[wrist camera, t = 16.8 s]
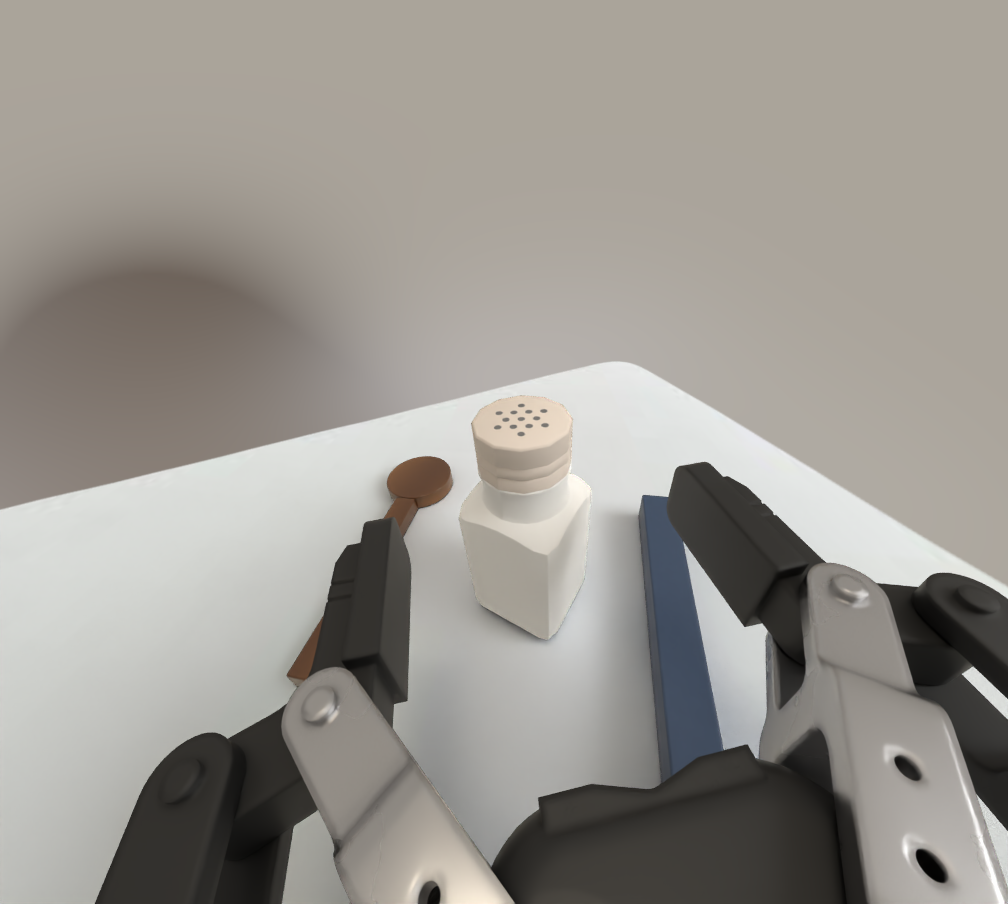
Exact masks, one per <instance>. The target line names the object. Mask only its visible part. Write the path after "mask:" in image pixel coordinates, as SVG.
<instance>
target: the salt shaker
mask: <svg viewBox="0 0 1008 904" xmlns="http://www.w3.org/2000/svg"><path fill="white" fill-rule="evenodd" d="M572 424H573V419H572V417H571V416H570V414H569V413H568V411H567V410H566V409H565V407H564V406H563V405H562V404H559V403H557V402H555V401H552V400H550V399H547V398H545V397H534V396H522V395H521V396H516V397H510V398H505V399H499V400H497V401H495V402H493V403H491V404H489V405H487V406H485V407H484V408H482V409H480V411H479V412H478V414H477V415H476V417H475V418H474V420H473V421H472V423H471V425H472V432H473V438H474V444H475V451H476V457H477V463H478V474H479V476H480V478H481V481H480V482H479V483H478V484H477V486H476V487H475V488H474V489H473V490H472V491H471V493H470V494H469V496H468V497H467V498H466V500H465V501H464V502H463V504H462V506H461V511H460V515H459V522H460V527H461V531H462V536H463V541H464V545H465V550H466V554H467V559H468V563H469V568H470V572H471V577H472V582H473V586H474V591H475V595H476V598H477V600H478V601H479V603H480V604H481V605H482V606H484V607H485V608H487V609H489V610H490V611H492V612H494V613H496V614H498V615H499V616H501V617H503V618H505V619H506V620H508V621H510V622H512V623H514V624H515V625H517V626H519V627H521V628H522V629H524V630H526V631H528V632H530V633H531V634H533V635H535V636H537V637H538V638H541V639H546V640H549V639H550V638H551V637H552V636H553V635H554V634H555V633H556V632H558V630H559V628H560V626H561V624H562V622H563V620H564V618H565V616H566V614H567V612H568V610H569V609H570V607H571V605H572V603H573V601H574V599H575V597H576V595H577V593H578V591H579V589H580V587H581V585H582V583H583V581H584V579H585V568H586V556H587V544H588V532H589V520H590V508H591V488H590V487H589V486H588V484H587V483H586V482H585V481H584V480H583V479H581V478H579V477H577V476H575V475H573V474H571V473H570V471H571V452H572V450H571V448H572V439H571V438H572Z"/></svg>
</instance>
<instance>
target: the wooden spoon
mask: <svg viewBox="0 0 1008 904" xmlns="http://www.w3.org/2000/svg"><path fill="white" fill-rule="evenodd" d="M452 483H453V479H452V475H451V470H450V467H449V465H448V464H447V463H446V462H445V461H444V460H442V459H440V458H437V457H431V456H424V457H417V458H413V459H410V460H407V461H405V462H403V463H401V464H400V465H398V466H397V467H396V468H395V469H394V470H393V471H392V472H391V473H390V475H389V477H388V480H387V487H388V490H389V493H390V495H391V498H392V499H393V501H394V503H393V504H392V506H391V507H390V509H389V511H388V512H387V514H386V515H385V517H384V519H385V518H390V517H395V519H396V521H397V523H398V526H399V529H400V531H401V534H402V537H403V536H404V534H405V532H406V531H407V529H408V527H409V525H410V523H411V521H412V519H413V518H414V516H415V514H416V512H417V510H418V508H422V507H426V506H429V505H432V504H434V503H436V502H438V501H440V500H441V499H442V498H444V497H445V496H446V495H447V494H448V492H449V491H450V489H451V487H452ZM323 616H324V615H323ZM322 620H323V617H322V619H321V620H320V622H319V623H318V625H317V627H316V628H315V630H314V632H313V633H312V635H311V636H310V638H309V640H308V641H307V643H306V644H305V646H304V648H303V649H302V651H301V652H300V654H299V656H298V657H297V659H296V661H295V662H294V664H293V665H292V667H291V669H290V670H289V672H288V673H287V677H288V678H289V679H290V680H291V681H292V682H293V683H294V684H295V685H296V686H300V685H301V684H302V683H303V682H304V681H305V680H306V679H307V677H308V675H309V673H310V671H311V667H312V664H313V660H314V656H315V651H316V647H317V642H318V638H319V633H320V629H321V625H322Z"/></svg>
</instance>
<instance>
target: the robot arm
mask: <svg viewBox="0 0 1008 904" xmlns="http://www.w3.org/2000/svg"><path fill="white" fill-rule="evenodd" d="M667 514H668V518H669V520H670V523H671V524H672V526H673V527H674V529H675V530H676V532H677V533H678V534H679V536H680V537H681V539H682V540H683V541H684V543H685V544H686V546H687V547H688V548H689V550H690V551H691V553H692V554H693V555H694V557H695V558H696V560H697V561H698V562H699V564H700V565H701V567H702V568H703V569H704V571H705V572H706V574H707V575H708V576H709V578H710V579H711V581H712V582H713V583H714V585H715V586H716V588H717V589H718V590H719V592H720V593H721V595H722V596H723V597H724V599H725V600H726V602H727V603H728V604H729V606H730V607H731V609H732V610H733V611H734V613H735V614H736V616H737V617H738V619H739V620H740V621H741V623H742V624H743V626H744V627H747V626H752V625H756V624H761V623H763V625H764V626H765V627H766V629H767V630H768V633H767V635H766V640H765V642H766V691H767V714H766V720H765V724H764V727H763V730H762V734H761V738H760V746H759V759H756V758H755V757H754V755H753V753H752V751H751V750H750V748H749V746H748V744H747V745H743V746H739V747H735V748H731V749H727V750H723V751H719V752H716V753H712V754H708V755H704V756H700V757H697V758H696V759H695V760H693V761H692V762H690V763H689V764H688V765H686V766H685V767H684V768H682V769H681V770H679V771H678V772H677V773H675V774H674V775H672V776H671V777H670V778H668V779H667V780H666V781H664V782H663V783H661V784H660V785H659V786H657V787H655V788H653V789H639V788H628V787H617V786H607V785H596V784H590V785H586V786H582V787H578V788H574V789H570V790H566V791H562V792H559V793H555V794H551V795H547V796H543V797H539V798H538V801H539V810H537V811H536V812H535V813H533V814H532V815H530V816H529V817H528V818H527V819H526V820H524V821H523V822H522V823H521V824H520V825H519V826H518V827H517V828H516V829H515V831H514V832H513V833H512V834H511V836H510V837H509V838H508V839H507V841H506V842H505V844H504V845H503V847H502V848H501V850H500V852H499V853H498V855H497V857H496V859H495V861H494V863H493V865H492V867H491V866H490V865H489V863H488V862H487V861H486V859H485V858H484V856H483V855H482V854H481V852H480V851H479V849H478V848H477V847H476V845H475V844H474V842H473V841H472V839H471V838H470V837H469V835H468V834H467V832H466V831H465V830H464V828H463V827H462V825H461V824H460V823H459V821H458V820H457V818H456V817H455V816H454V814H453V813H452V811H451V810H450V809H449V807H448V806H447V804H446V803H445V802H444V800H443V799H442V797H441V796H440V795H439V793H438V792H437V790H436V789H435V788H434V786H433V785H432V783H431V782H430V781H429V779H428V778H427V776H426V775H425V773H424V772H423V771H422V769H421V768H420V766H419V765H418V764H417V762H416V761H415V759H414V758H413V757H412V755H411V754H410V752H409V751H408V750H407V748H406V747H405V745H404V744H403V742H402V741H401V740H400V738H399V737H398V735H397V734H396V733H395V731H394V730H393V710H394V704H396V703H401V702H405V701H407V699H408V666H409V632H410V598H411V564H410V558H409V554H408V550H407V548H406V545H405V542H404V540H403V537H402V534H401V531H400V529H399V526H398V523H397V521H396V519H395V517H390V518H385V519H379V520H374V521H368V522H365V524H364V527H363V532H362V538H361V543H358V544H353V545H347V547H346V548H345V550H344V551H343V553H342V554H341V556H340V557H339V559H338V560H337V562H336V563H335V567H334V572H333V576H332V580H331V586H330V589H329V594H328V598H327V599H328V602H327V603H326V607H325V611H324V616H323V620H322V625H321V629H320V633H319V638H318V642H317V647H316V651H315V656H314V660H313V664H312V667H311V671H310V673H309V675H308V677H307V679H306V680H305V681H304V682H303V683H302V684H301V685H300V686H299V687H298V688H297V689H296V690H295V692H294V693H293V694H292V696H291V697H290V699H289V701H288V703H287V704H286V705H284V706H283V707H282V708H281V709H279V710H278V711H276V712H275V713H273V714H271V715H270V716H268V717H266V718H264V719H262V720H261V721H259V722H257V723H255V724H254V725H252V726H250V727H248V728H246V729H245V730H243V731H241V732H239V733H237V734H236V735H234V736H232V737H230V738H228V739H227V738H226V737H224V736H223V735H221V734H218V733H204V734H200V735H198V736H195V737H193V738H191V739H189V740H187V741H185V742H184V743H182V744H181V745H179V746H178V747H177V748H176V749H174V750H173V751H172V752H171V753H170V754H169V755H168V756H167V757H166V758H164V759H163V761H162V762H161V763H160V764H159V765H158V766H157V767H156V769H155V770H154V771H153V773H152V774H151V776H150V777H149V779H148V780H147V782H146V784H145V785H144V787H143V789H142V791H141V793H140V795H139V798H138V800H137V803H136V805H135V807H134V810H133V812H132V815H131V817H130V820H129V822H128V824H127V827H126V829H125V832H124V834H123V837H122V839H121V841H120V844H119V846H118V849H117V851H116V853H115V856H114V858H113V861H112V863H111V866H110V868H109V870H108V873H107V875H106V878H105V880H104V883H103V885H102V887H101V890H100V892H99V895H98V897H97V900H96V902H95V904H282V898H283V891H284V885H285V879H286V872H287V866H288V859H289V853H290V846H291V840H292V833H293V827H294V826H295V825H296V824H298V823H299V822H301V821H302V820H304V819H305V818H307V817H308V816H310V815H311V814H313V813H314V812H316V811H317V810H319V812H320V814H321V816H322V819H323V821H324V823H325V825H326V827H327V829H328V831H329V833H330V835H331V838H332V840H333V843H334V853H333V857H334V862H335V866H336V869H337V872H338V875H339V877H340V880H341V882H342V884H343V886H344V889H345V891H346V893H347V895H348V897H349V899H350V901H351V903H352V904H1008V887H1007V884H1006V881H1005V878H1004V875H1003V872H1002V869H1001V866H1000V863H999V860H998V858H997V855H996V852H995V849H994V846H993V843H992V840H991V837H990V834H989V831H988V828H987V825H986V822H985V819H984V816H983V813H982V810H981V807H980V804H979V801H978V798H977V795H978V796H979V798H980V799H981V800H982V801H983V802H984V803H985V805H986V806H987V807H988V808H989V809H990V811H991V812H992V813H993V814H994V815H995V817H996V818H997V819H998V820H999V821H1000V822H1001V824H1002V825H1003V826H1004V827H1005V828H1006V830H1007V831H1008V719H1007V718H1005V717H1004V716H1003V715H1002V714H1001V713H1000V712H999V711H998V710H997V709H996V708H995V707H994V706H993V705H992V704H991V703H990V702H989V701H988V700H987V699H986V698H985V697H984V696H983V695H982V694H981V693H980V692H979V691H978V690H977V689H976V688H975V687H974V686H973V685H972V684H971V683H970V682H969V681H968V680H967V679H966V678H965V677H964V676H963V675H962V673H964V672H965V671H967V670H968V669H970V668H971V667H973V666H974V667H975V668H976V669H977V670H978V671H979V672H980V673H981V674H982V675H983V676H984V677H985V678H986V679H987V680H988V681H989V682H991V683H992V684H993V685H994V686H995V687H996V688H997V689H998V690H999V691H1000V692H1001V693H1002V694H1003V695H1004V696H1005V697H1006V698H1007V699H1008V599H1007V598H1006V597H1004V596H1003V595H1001V594H1000V593H999V592H997V591H995V590H994V589H992V588H990V587H989V586H987V585H985V584H983V583H981V582H978V581H976V580H974V579H971V578H968V577H965V576H961V575H958V574H952V573H936V574H933V575H931V576H929V577H928V578H927V579H926V580H925V581H924V582H923V583H922V584H921V585H920V586H919V587H912V586H901V585H890V584H879V583H875V582H874V581H873V580H871V579H870V578H869V577H867V576H866V575H864V574H862V573H861V572H859V571H857V570H855V569H852V568H850V567H847V566H844V565H840V564H836V563H826V562H825V561H824V560H823V559H821V558H820V557H819V556H818V555H817V554H816V553H815V552H814V551H813V550H812V549H811V548H810V547H809V546H808V545H807V544H806V543H805V542H804V541H803V540H802V539H801V538H800V537H798V536H797V535H796V534H795V533H794V532H793V531H792V530H791V529H790V528H789V527H788V526H787V525H786V524H785V523H784V522H783V521H782V520H781V519H780V518H779V517H778V516H777V515H774V514H773V512H772V511H771V510H770V509H769V508H768V507H767V506H766V505H765V504H762V503H761V500H760V499H759V498H758V497H757V496H756V495H755V494H754V493H753V492H752V491H751V490H750V489H749V488H747V487H746V486H744V485H743V484H741V483H739V482H737V481H735V480H734V479H732V478H730V477H728V476H726V477H723V476H722V475H721V474H720V473H719V472H718V471H717V470H716V469H715V468H714V467H713V466H712V465H711V464H709V463H707V462H700V463H695V464H689V465H684V466H679V467H677V468H676V470H675V473H674V477H673V481H672V485H671V489H670V493H669V497H668V501H667ZM976 794H977V795H976Z"/></svg>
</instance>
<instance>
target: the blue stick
mask: <svg viewBox="0 0 1008 904" xmlns="http://www.w3.org/2000/svg"><path fill="white" fill-rule="evenodd" d="M667 501H668V497H662V496H650V495H643V496H642V500H641V506H640V511H639V525H640V537H641V549H642V560H643V572H644V584H645V595H646V607H647V619H648V630H649V642H650V654H651V666H652V677H653V689H654V701H655V712H656V724H657V736H658V747H659V759H660V771H661V782H662V783H663V782H664V781H666V780H667V779H668V778H670V777H671V776H672V775H674V774H675V773H677V772H678V771H679V770H681V769H682V768H684V767H685V766H686V765H688V764H689V763H690V762H692V761H693V760H695V759H696V758H697V757H700V756H704V755H708V754H712V753H716V752H719V751H723V750H724V749H723V744H722V739H721V734H720V729H719V724H718V719H717V713H716V708H715V703H714V698H713V693H712V688H711V683H710V678H709V672H708V667H707V662H706V657H705V652H704V647H703V642H702V636H701V631H700V626H699V621H698V616H697V611H696V606H695V601H694V595H693V590H692V585H691V580H690V575H689V570H688V565H687V560H686V554H685V549H684V544H683V540H682V539H681V537H680V536H679V534H678V533H677V532H676V530H675V529H674V527H673V526H672V524H671V523H670V520H669V518H668V514H667Z"/></svg>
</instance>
